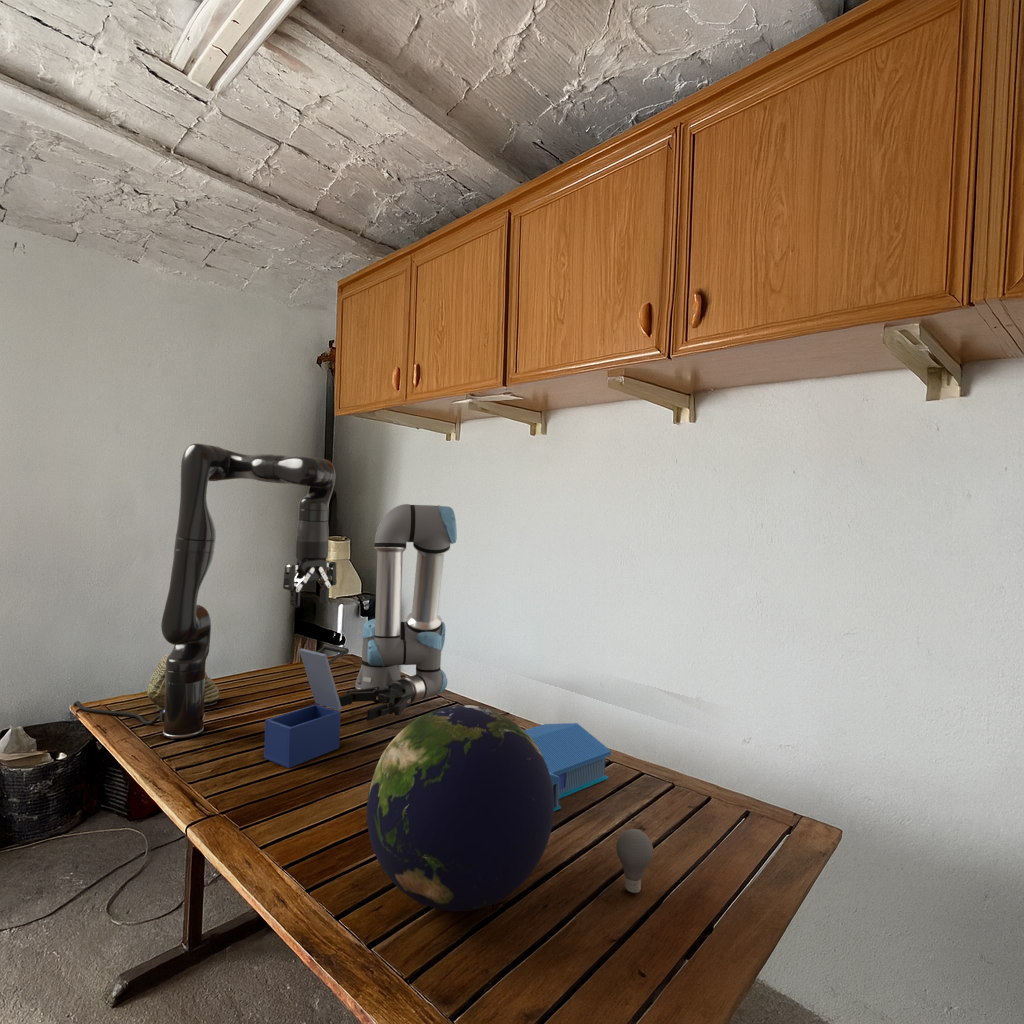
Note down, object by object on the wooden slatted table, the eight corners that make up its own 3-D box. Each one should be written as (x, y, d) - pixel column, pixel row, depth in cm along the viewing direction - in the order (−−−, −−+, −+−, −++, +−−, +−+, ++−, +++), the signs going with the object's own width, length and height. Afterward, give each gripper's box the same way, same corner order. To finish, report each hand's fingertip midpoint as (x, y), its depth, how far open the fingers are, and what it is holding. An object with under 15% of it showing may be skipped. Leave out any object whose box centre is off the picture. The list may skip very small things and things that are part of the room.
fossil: (144, 707, 182) (145, 655, 182) (212, 696, 194) (213, 647, 194) (151, 716, 175) (153, 662, 175) (221, 703, 188) (223, 653, 188)
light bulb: (610, 879, 108) (613, 822, 108) (644, 879, 109) (647, 822, 109) (619, 902, 102) (622, 840, 102) (655, 901, 103) (658, 840, 103)
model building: (490, 838, 120) (492, 786, 120) (417, 791, 138) (419, 745, 138) (619, 783, 146) (621, 740, 146) (544, 749, 164) (545, 711, 164)
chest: (288, 768, 147) (290, 728, 147) (263, 758, 152) (265, 719, 152) (339, 748, 160) (340, 711, 159) (314, 739, 165) (316, 703, 164)
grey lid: (323, 656, 154) (347, 639, 160) (299, 649, 159) (322, 633, 165) (339, 710, 159) (361, 692, 165) (315, 703, 164) (337, 685, 170)
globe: (322, 922, 94) (330, 722, 94) (423, 829, 122) (430, 674, 122) (507, 988, 83) (517, 762, 83) (572, 869, 111) (580, 699, 110)
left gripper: (298, 541, 147) (296, 610, 147) (345, 539, 159) (342, 603, 159) (277, 539, 151) (275, 606, 151) (324, 537, 163) (322, 600, 163)
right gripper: (437, 713, 179) (383, 734, 161) (375, 695, 193) (318, 713, 175) (438, 687, 179) (384, 705, 161) (376, 670, 193) (319, 686, 175)
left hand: (309, 605), depth 155 cm, fingers open, 8 cm apart
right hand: (350, 709), depth 168 cm, fingers open, 13 cm apart
